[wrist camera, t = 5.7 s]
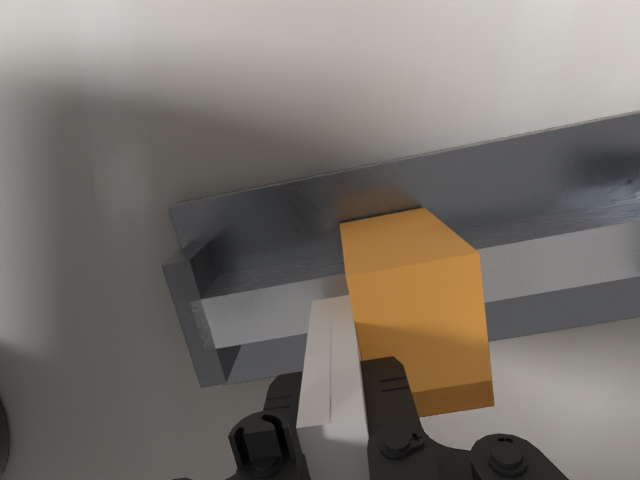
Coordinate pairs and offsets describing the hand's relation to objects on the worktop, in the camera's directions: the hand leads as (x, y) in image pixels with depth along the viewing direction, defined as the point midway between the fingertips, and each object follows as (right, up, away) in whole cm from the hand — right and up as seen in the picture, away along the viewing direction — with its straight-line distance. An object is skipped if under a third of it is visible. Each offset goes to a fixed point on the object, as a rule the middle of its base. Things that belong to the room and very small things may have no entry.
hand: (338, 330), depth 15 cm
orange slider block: (+3, +2, +4) cm, 6 cm away
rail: (+5, +3, +6) cm, 8 cm away
